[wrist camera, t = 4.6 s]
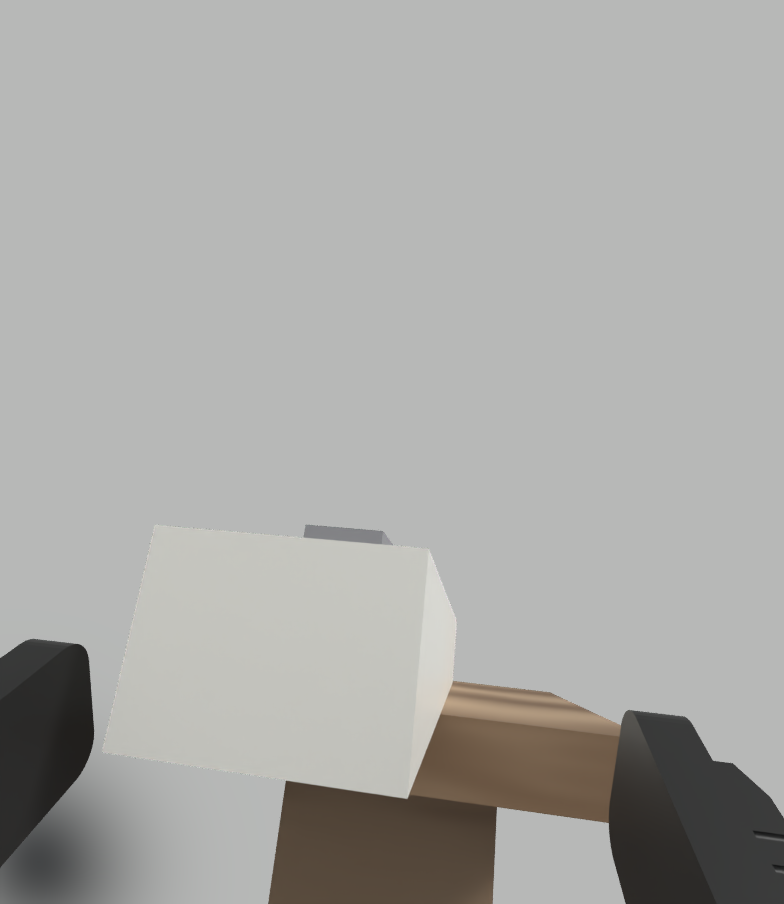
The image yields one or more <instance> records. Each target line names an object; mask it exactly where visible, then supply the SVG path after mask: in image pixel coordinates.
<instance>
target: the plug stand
mask: <svg viewBox="0 0 784 904" xmlns="http://www.w3.org/2000/svg"><path fill="white" fill-rule="evenodd" d="M620 730H621V725H619V724H617V723H614V722H612V721H610V720H608V719H606V718H604V717H601V716H599V715H597V714H595V713H593V712H591V711H589V710H586V709H584V708H582V707H580V706H578V705H576V704H574V703H571V702H569V701H567V700H565V699H563V698H561V697H558V696H556V695H554V694H552V693H550V692H542V691H533V690H525V689H517V688H508V687H500V686H491V685H483V684H474V683H465V682H457V681H453V683H452V685H451V688H450V691H449V693H448V696H447V698H446V701H445V703H444V706H443V709H442V711H441V714H440V716H439V719H438V721H437V724H436V727H435V729H434V732H433V734H432V737H431V739H430V742H429V745H428V747H427V750H426V752H425V755H424V757H423V760H422V762H421V765H420V768H419V770H418V773H417V775H416V778H415V780H414V783H413V786H412V788H411V791H410V793H409V796H408V798H407V799H405V798H398V797H391V796H385V795H378V794H372V793H365V792H359V791H352V790H345V789H339V788H332V787H326V786H319V785H312V784H306V783H299V782H293V781H286V784H285V791H284V798H283V805H282V812H281V820H280V827H279V833H278V840H277V847H276V854H275V861H274V868H273V874H272V881H271V888H270V895H269V903H268V904H492V903H493V881H494V858H495V856H494V855H495V836H496V835H495V834H496V813H497V807H501V808H508V809H515V810H522V811H529V812H536V813H543V814H550V815H557V816H564V817H571V818H578V819H586V820H592V821H600V822H606V823H609V804H610V797H611V790H612V783H613V777H614V770H615V763H616V756H617V750H618V743H619V736H620Z"/></svg>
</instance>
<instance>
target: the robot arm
mask: <svg viewBox="0 0 784 904" xmlns="http://www.w3.org/2000/svg"><path fill="white" fill-rule="evenodd" d="M93 740H94V723H93V710H92V696H91V682H90V669H89V659H88V654H87V651H86V649H85V648H84V647H83V646H82V645H79V644H72V643H64V642H55V641H47V640H38V639H30V640H27V641H25V642H23V643H21V644H20V645H18V646H17V647H15V648H14V649H13V650H11V651H10V652H8V653H7V654H6V655H4V656H3V657H1V658H0V867H1V866H2V865H3V864H4V862H5V861H6V860H7V859H8V858H9V857H10V856H11V854H12V853H13V852H14V851H15V850H16V849H17V847H18V846H19V845H20V844H21V843H22V841H24V839H25V838H26V837H27V836H28V835H29V834H30V832H31V831H32V830H33V829H34V828H35V827H36V826H37V824H38V823H39V822H40V821H41V820H42V819H43V817H44V816H45V815H46V814H47V813H48V812H49V811H50V809H51V808H52V807H53V806H54V805H55V803H56V802H57V801H58V800H59V799H60V798H61V797H62V795H63V794H64V793H65V792H66V791H67V790H68V789H69V787H70V786H71V785H72V784H73V783H74V782H75V781H76V779H77V778H78V777H79V775H80V774H81V772H82V771H83V769H84V767H85V765H86V763H87V761H88V758H89V756H90V753H91V749H92V745H93ZM609 834H610V843H611V849H612V855H613V859H614V862H615V866H616V870H617V874H618V877H619V881H620V885H621V888H622V892H623V895H624V899H625V902H626V904H784V818H783V816H782V815H781V813H780V812H779V810H778V809H777V807H776V805H775V804H774V802H773V801H772V799H771V798H770V797H769V796H768V795H767V794H766V793H765V792H764V791H763V790H761V788H759V787H758V786H757V785H756V784H755V783H754V782H753V781H752V780H750V779H749V778H748V777H747V776H746V775H745V774H744V773H743V772H742V771H741V770H739V769H738V768H737V767H736V766H735V765H734V764H733V763H725V762H716V761H713V760H712V759H711V757H710V755H709V753H708V751H707V750H706V748H705V746H704V744H703V743H702V741H701V739H700V737H699V736H698V734H697V732H696V730H695V728H694V727H693V725H692V723H691V722H690V721H689V720H688V719H687V718H686V717H683V716H674V715H665V714H657V713H649V712H640V711H632V710H628V711H626V712H625V714H624V717H623V719H622V724H621V730H620V736H619V743H618V750H617V756H616V763H615V770H614V777H613V783H612V790H611V797H610V804H609Z"/></svg>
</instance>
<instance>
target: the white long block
mask: <svg viewBox="0 0 784 904" xmlns="http://www.w3.org/2000/svg"><path fill="white" fill-rule="evenodd" d="M456 627H457V620H456V618H455V615H454V613H453V610H452V607H451V605H450V602H449V599H448V597H447V594H446V592H445V589H444V587H443V584H442V581H441V579H440V576H439V574H438V571H437V568H436V566H435V563H434V561H433V558H432V555H431V553H430V550H429V549H428V548H417V547H406V546H394V545H393V544H392V543H391V541H390V540H389V539H388V537H387V536H386V535H385V533H384V532H383V531H375V530H363V529H351V528H339V527H327V526H314V525H305V532H304V538H302V537H290V536H279V535H268V534H256V533H245V532H233V531H222V530H210V529H198V528H187V527H176V526H163V525H155V526H154V530H153V534H152V539H151V543H150V547H149V551H148V556H147V560H146V564H145V569H144V573H143V577H142V581H141V586H140V591H139V595H138V599H137V603H136V607H135V612H134V616H133V621H132V624H131V629H130V633H129V637H128V642H127V646H126V650H125V655H124V659H123V663H122V667H121V672H120V676H119V681H118V685H117V689H116V693H115V697H114V702H113V706H112V711H111V715H110V719H109V724H108V727H107V732H106V736H105V740H104V745H103V749H102V753H108V754H115V755H121V756H128V757H135V758H141V759H148V760H154V761H161V762H168V763H175V764H181V765H188V766H194V767H200V768H208V769H214V770H220V771H227V772H233V773H240V774H247V775H254V776H260V777H266V778H273V779H280V780H286V781H293V782H299V783H306V784H312V785H319V786H326V787H332V788H339V789H345V790H352V791H359V792H365V793H372V794H378V795H385V796H391V797H398V798H405V799H407V798H408V796H409V793H410V791H411V788H412V786H413V783H414V780H415V778H416V775H417V773H418V770H419V768H420V765H421V762H422V760H423V757H424V755H425V752H426V750H427V747H428V745H429V742H430V739H431V737H432V734H433V732H434V729H435V727H436V724H437V721H438V719H439V716H440V714H441V711H442V709H443V706H444V703H445V701H446V698H447V696H448V693H449V691H450V688H451V685H452V683H453V671H454V656H455V641H456Z"/></svg>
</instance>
